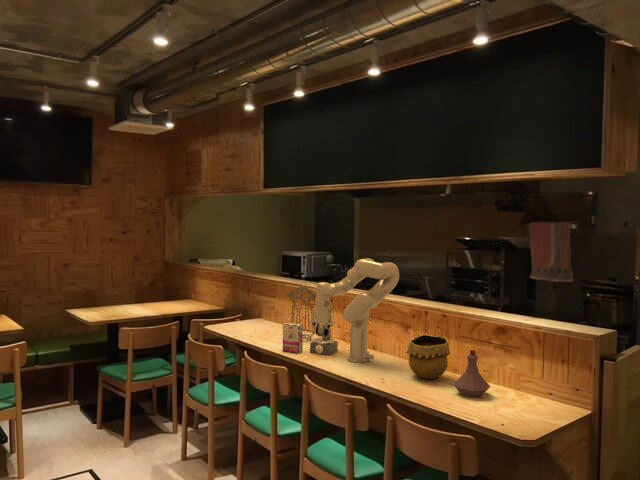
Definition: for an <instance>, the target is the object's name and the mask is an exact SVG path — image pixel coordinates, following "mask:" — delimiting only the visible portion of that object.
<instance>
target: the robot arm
mask: <svg viewBox="0 0 640 480" xmlns="http://www.w3.org/2000/svg"><path fill="white" fill-rule="evenodd" d="M346 274H347V275H346V277H344V278H343V279H341V280H339V281H337V282H333V283H330V282H325V281H321V282H317V283H316V293H315V295H316V297H315V303H316V305H315V306H314V308H313V310H314V317H313V316H312V317H311V320H310V322H311V324H312V323H313V327H315V335H316V336H318V325H320V324H321V325H325V327H326V329H325V336H327V335H328V334H329V328H330V329H331V327H333V326H334V324H335V322H334V321H333V314H332V313H333V312H332V308H331V307H332V302H331V301H330V297H331V298H333V297H335V298H336V297H338V296H342V295H344V294H346V293H348V292H349V291H350V290H353V288H354V287H355V286H356V285H357V284H358V283H360V282H361V281H363V280H364V279H365V278H370V279H371V278H372V279H376V280H378V281H377V282H376V283H375V284H374V285H373V287H371V288H370V289H369V290H367V291H363V292H361V293H359V294H357V295H356V296H355V298H353V299H352V300H351V302H350V303H348V304H347V305H346V306H345V308H344V309H343V318H344V320H345V321H346V322H348V323H350V335H349V336H350V338H349V339H350V341H349V342H350V343H349V355H348V356H347V357H346V359H347V361H349V362H353V363H367V362H369V361H371V360H374V359H375V355H374V354H370V351H368V338H369V336H368V335H369V320H370V315H371V314H370V313H371V312H370V310H371V309H374V308H376V307H377V306H379V305H380V304H381V302H382V301H383V300H384V299H385V298H386V297H387V296H389V294H390V293H391V292H392V291H393V290H394V289H395V287H396V286H397V285H398V282H399V279H400V270H399V267H398V266H397V264H395V263H394V262H389V261H387V262H376V261H375V260H374V259H372V258H368V257H366V258H361V259H358V260H357V261H356V262H355V264H354V266H353V267H351V268H350V269H348V270H347V272H346Z"/></svg>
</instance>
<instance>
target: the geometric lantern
mask: <svg viewBox="0 0 640 480" xmlns="http://www.w3.org/2000/svg"><path fill="white" fill-rule="evenodd" d="M308 294H309V295H308ZM287 295H288V297H289V298H290V300H291V301H292V302H293V303H292V306H291V317H292V318H290V319H291V321H290V323H294V324H301V310H302V309H305V310H304V314H305V315H304V316H305V317H304V329H303V339H305V337H306V339H307V340H305V342H311V341H312V337H313V336H314V335H316V328H315V326H314V325H313V323H312V322H311V327H312V330H310V328H308V329H306V328H307V320H308V325H310V314H311V317H312V318H313V317H314V305H312V304H311V300H312V301H314V299H316V293H315V292H314V291H312V290H311V289H309V288H308V287H306V286H305V285H301V286H299V287H297V288H295V289H294V290H292V291H290V292H288V293H287ZM309 298H310V299H309ZM297 299H299V300H300V301H302V304H296V302H297ZM305 299H307V300H305ZM306 302H307V303H306ZM304 303H305V304H304ZM298 306H299V308H298ZM302 306H305V307H302ZM294 309H295V310H296V311H298V315H296V318H295V310H294ZM309 310H310V312H311V313H310V312H309ZM294 318H295V319H296V321H294V320H295V319H294ZM298 318H299V320H298ZM307 318H308V319H307ZM295 322H296V323H295ZM306 331H307V332H306ZM309 332H310V333H312V334H308V333H309Z"/></svg>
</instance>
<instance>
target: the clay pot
mask: <svg viewBox="0 0 640 480" xmlns="http://www.w3.org/2000/svg"><path fill="white" fill-rule="evenodd" d="M405 352H406V354H408V366H409V367H410V369H411V371H412V372H413V373H414V374H415V375H416V376H417V377H420V378H422V379H424V380H435V379H437V378H440V377H441V376H442V375H444V373H445V372H446V370H447V369H448V364H449V363H448V362H449V361H448V356H449V355H450V354H451V353H450V352H451V351H450V347H449V341H448V339H447V338H446V337H443V336H441V335H438V336H437V335H436V336H435V335H431V334H430V335H429V334H420V335H419V336H416V337H415V338H413V339H411V340H410V341H409V344H408V348H407V350H406V351H405Z"/></svg>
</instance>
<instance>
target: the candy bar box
mask: <svg viewBox="0 0 640 480" xmlns="http://www.w3.org/2000/svg"><path fill="white" fill-rule="evenodd" d="M303 330H304V324H301V323H300V324H299V323H297V324H296V323H295V322H294V323H293V322H292V323H291V322H285V323H283V324H282V352H283V353H291V354H297V355H298V354H301V353H303V351H304V350H303V342H304V340H303V338H304V336H303V334H304V331H303Z"/></svg>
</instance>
